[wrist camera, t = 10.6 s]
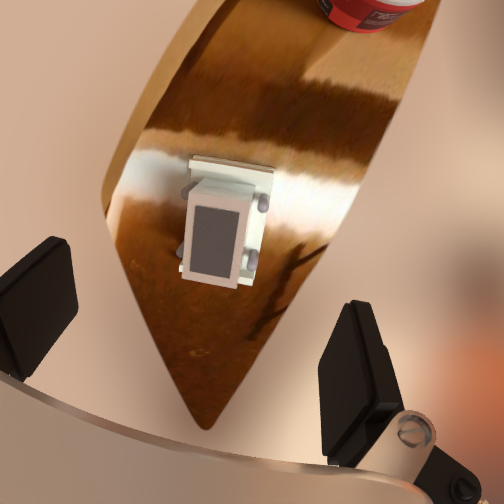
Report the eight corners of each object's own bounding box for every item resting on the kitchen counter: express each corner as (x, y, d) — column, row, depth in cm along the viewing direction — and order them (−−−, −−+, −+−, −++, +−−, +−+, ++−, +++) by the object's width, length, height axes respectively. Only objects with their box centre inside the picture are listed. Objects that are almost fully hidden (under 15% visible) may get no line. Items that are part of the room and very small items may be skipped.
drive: (205, 176, 31) (188, 192, 25) (256, 185, 30) (250, 203, 25) (197, 250, 34) (181, 279, 28) (243, 258, 34) (236, 289, 28)
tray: (195, 154, 31) (184, 160, 27) (275, 168, 31) (274, 176, 27) (184, 260, 36) (174, 278, 32) (254, 274, 36) (251, 293, 32)
